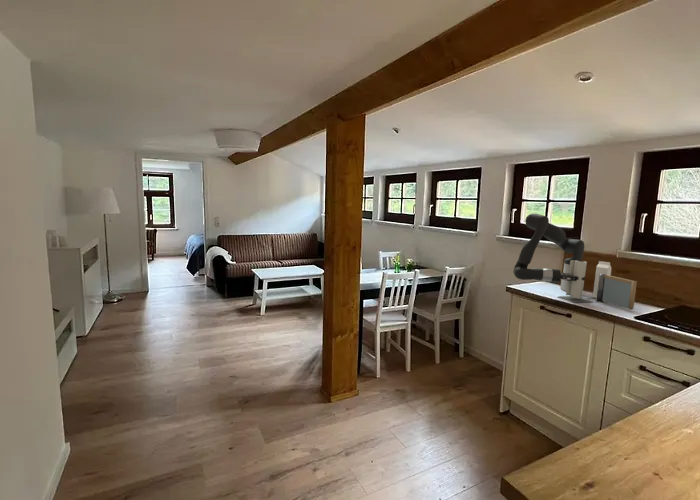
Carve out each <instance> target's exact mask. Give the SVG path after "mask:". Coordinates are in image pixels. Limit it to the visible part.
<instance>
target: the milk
mask: <svg viewBox="0 0 700 500" xmlns="http://www.w3.org/2000/svg"><path fill="white" fill-rule="evenodd" d="M595 267H596V269H595V275H594V276H595V277H594V283H593V290H592V291H593V294H592V298H594V299H596V298H597V290H598V282H599V274H606V275H610V276H612V266H611V262H609V261H602V260H601V261H600V260H599V261H598V264H597V265H596V266H595Z"/></svg>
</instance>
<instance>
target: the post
mask: <svg viewBox="0 0 700 500" xmlns="http://www.w3.org/2000/svg"><path fill="white" fill-rule="evenodd" d="M605 275H606V274H599V282H598V290H597V298H595V299H596V302H598V303H604V301H602V300H603V292H604V283H605Z"/></svg>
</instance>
